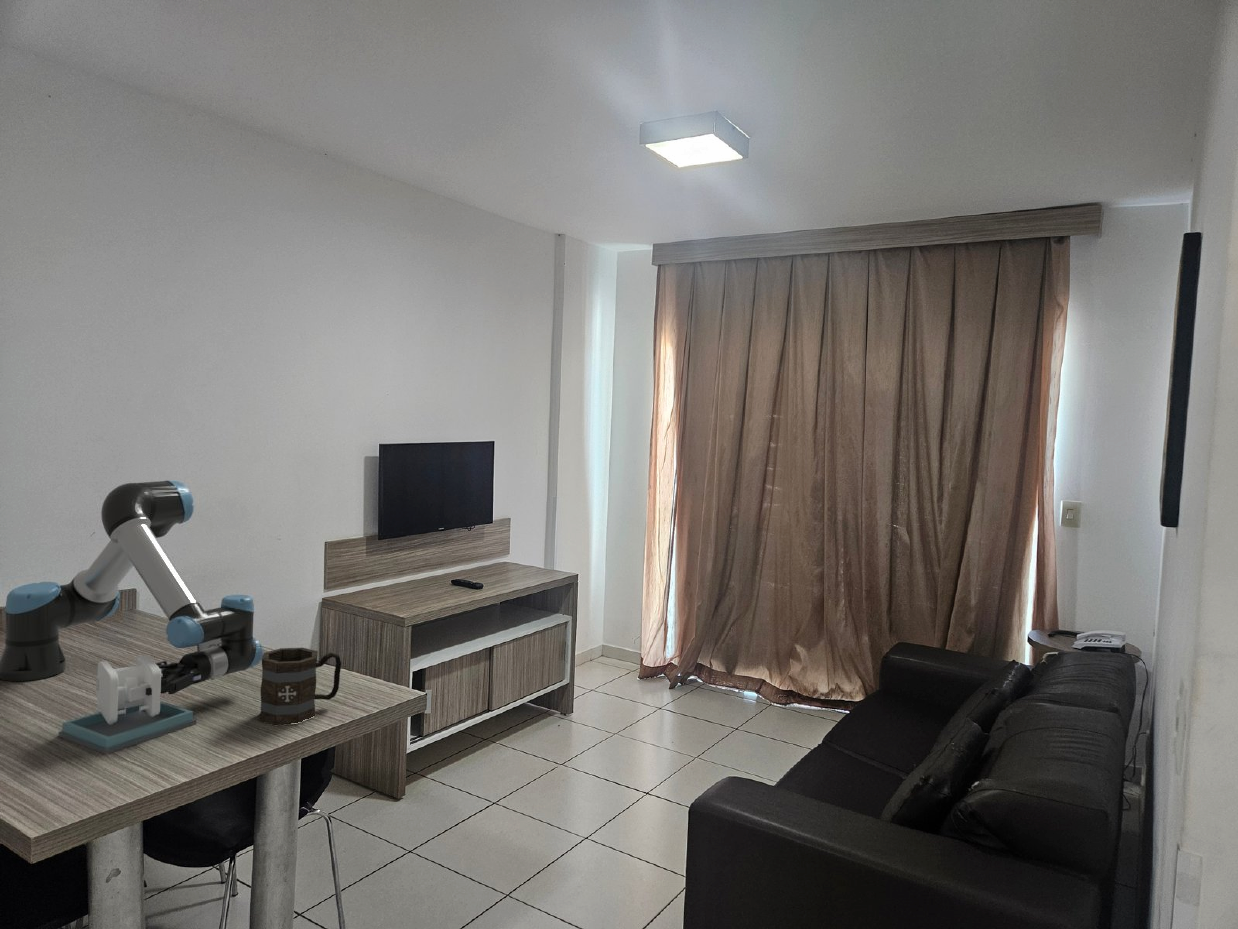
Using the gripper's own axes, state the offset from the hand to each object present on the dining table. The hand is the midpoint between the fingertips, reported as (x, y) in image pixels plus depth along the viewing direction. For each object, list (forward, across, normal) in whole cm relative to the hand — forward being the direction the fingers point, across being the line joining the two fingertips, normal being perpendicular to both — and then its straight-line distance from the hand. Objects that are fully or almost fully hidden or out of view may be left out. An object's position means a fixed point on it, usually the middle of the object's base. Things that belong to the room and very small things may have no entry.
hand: (113, 690), depth 181 cm
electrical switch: (-45, +26, -11) cm, 53 cm away
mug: (-33, -22, -11) cm, 41 cm away
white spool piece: (-4, 0, -7) cm, 8 cm away
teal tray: (-4, 0, -10) cm, 11 cm away
